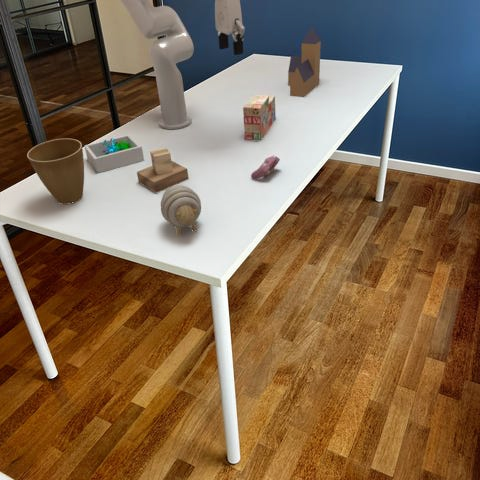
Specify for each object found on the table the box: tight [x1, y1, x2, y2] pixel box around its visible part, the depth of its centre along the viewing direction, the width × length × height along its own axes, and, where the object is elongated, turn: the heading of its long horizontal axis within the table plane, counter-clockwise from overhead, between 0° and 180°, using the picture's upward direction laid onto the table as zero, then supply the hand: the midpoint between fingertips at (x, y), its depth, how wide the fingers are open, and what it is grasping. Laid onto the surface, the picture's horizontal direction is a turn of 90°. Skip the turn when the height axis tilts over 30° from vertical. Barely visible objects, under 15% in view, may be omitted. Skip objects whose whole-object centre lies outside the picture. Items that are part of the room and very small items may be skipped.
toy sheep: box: [160, 184, 202, 236], centre depth 126 cm, size 11×17×11 cm, turn 24°
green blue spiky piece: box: [103, 137, 130, 155], centre depth 167 cm, size 12×7×8 cm
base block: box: [136, 160, 189, 194], centre depth 150 cm, size 10×12×4 cm
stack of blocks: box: [242, 94, 277, 142], centre depth 177 cm, size 21×6×12 cm, turn 163°
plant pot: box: [26, 137, 85, 205], centre depth 140 cm, size 15×15×16 cm
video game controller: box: [250, 154, 280, 180], centre depth 149 cm, size 10×5×7 cm, turn 149°
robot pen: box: [83, 134, 145, 174], centre depth 164 cm, size 13×16×5 cm
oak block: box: [149, 146, 173, 175], centre depth 147 cm, size 5×5×6 cm
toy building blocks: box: [287, 26, 322, 98], centre depth 208 cm, size 12×19×25 cm
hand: (231, 51), depth 157 cm, fingers open, 9 cm apart
